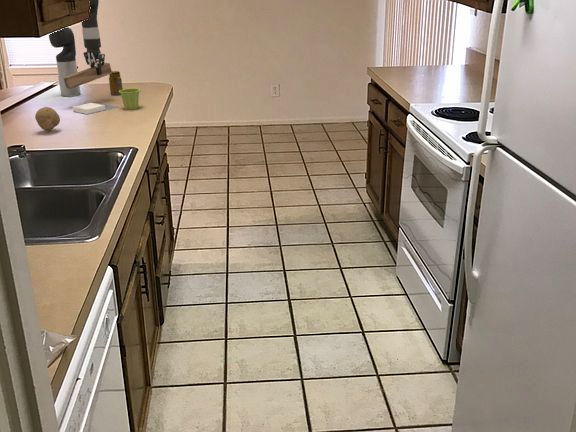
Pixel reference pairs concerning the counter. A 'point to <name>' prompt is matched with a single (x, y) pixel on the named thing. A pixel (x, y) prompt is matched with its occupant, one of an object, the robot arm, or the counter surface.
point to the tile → (89, 108)
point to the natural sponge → (47, 118)
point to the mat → (107, 107)
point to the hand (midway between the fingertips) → (96, 74)
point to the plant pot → (130, 98)
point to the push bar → (86, 76)
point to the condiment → (115, 83)
